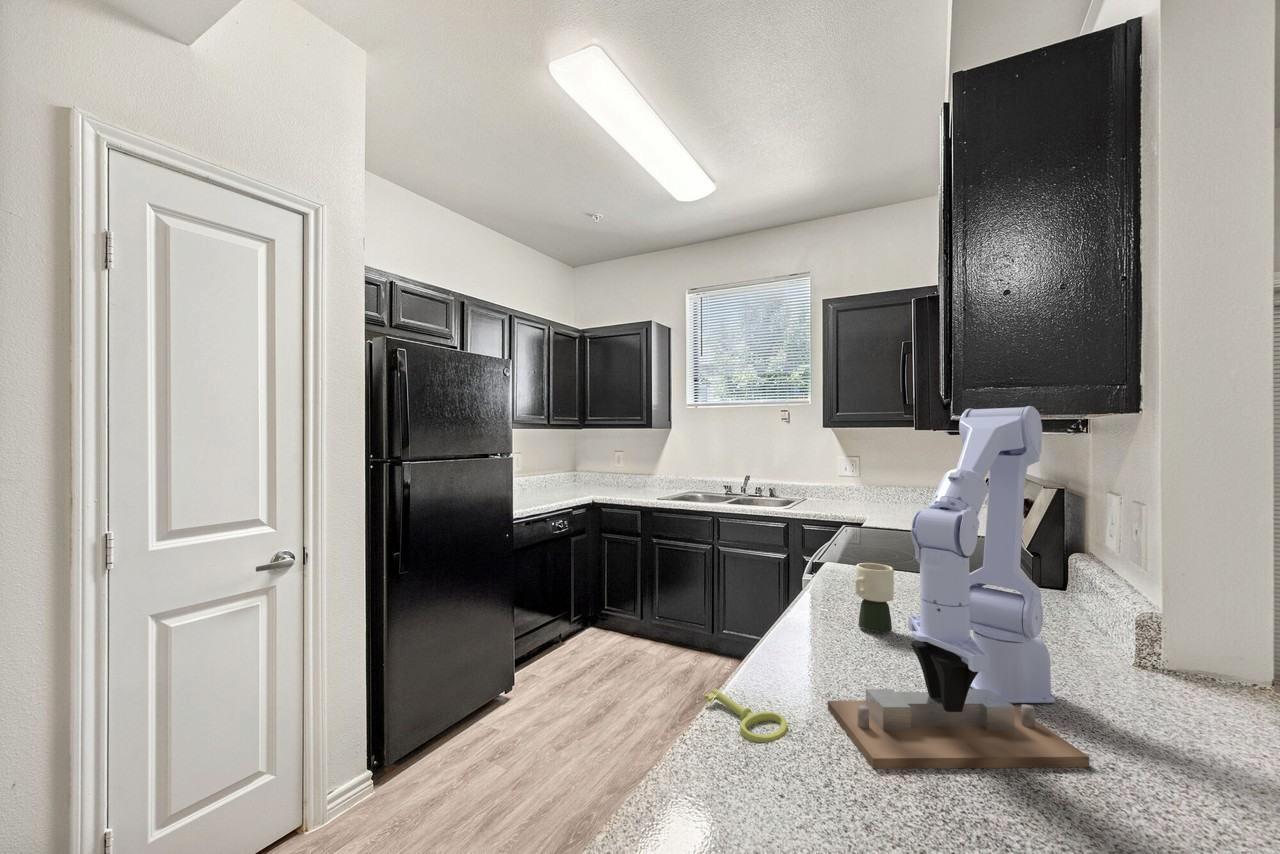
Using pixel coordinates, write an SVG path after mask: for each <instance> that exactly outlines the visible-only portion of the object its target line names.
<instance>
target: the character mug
mask: <svg viewBox="0 0 1280 854" xmlns="http://www.w3.org/2000/svg"><path fill="white" fill-rule="evenodd" d="M855 570H856V571H855V582H854V583H855V584H854V588H855V589H854V591H855V594H857V596H858V597H859V598H861V599H862V601H861V603H860V609H859V614H858V627H859V628H862V629H865V630H868V631H869V632H870V631H871V632H877V633H884V634H885V633H890V632H892V630H893V625H892V624H893V623H892V618H891V611H890V605H889V604H888V602H891V601H893V600H894V595H895V592H894V591H895V585H894V584H895V583H894V580H895V579H894V578H895V577H894V567H892V566H890V565H886V564H881V563H873V562H863V563H860V562H859V563H857V564H856V567H855Z"/></svg>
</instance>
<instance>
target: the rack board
mask: <svg viewBox="0 0 1280 854" xmlns="http://www.w3.org/2000/svg"><path fill="white" fill-rule="evenodd" d="M1005 701H1006V700H1005ZM1007 702H1008V701H1007ZM1008 703H1009V702H1008ZM1009 704H1011V705H1012V706H1014V720H1015V730H986V729H985V728H984V727H911V731H883V730H882V729H881V728H880V726H879V725H878V724H877V723H876V722H875V721H874V720H873V718H872V717H871V716H870V715H869V708H868V707H866V699H865V700H863V699H860V700H827V710H828V711H829V713H830V714H831V715H832V717H833V718H834V720H836V722H837V723H838V724H839V726H840V727H841V728H842V730H843V731H844V733H846V735H847V737H848V738H849V739H850V740H851V742H852V743H853V744H854V745H855V747H856V748H857V750H858V752H860V753H861V755H862V756H863V758H864V759H865V760H866V761H867V763H868V764H869V765H870V767H871V768H872V769H875V770H880V769H881V770H883V769H884V770H888V769H889V770H893V769H896V770H897V769H899V770H900V769H990V768H991V769H993V768H995V769H996V768H997V769H998V768H999V769H1002V768H1003V769H1005V768H1007V769H1008V768H1013V769H1014V768H1015V769H1017V768H1021V769H1022V768H1089V767H1090V756H1089V755H1087V754H1086V753H1085V752H1083V751H1081V750H1080V749H1078V748H1077V747H1076V746H1074V745H1073V744H1071V743H1070V742H1068V741H1067V740H1066V739H1064V738H1063V737H1061V736H1060V735H1058V734H1057V733H1055V732H1053V731H1052V730H1051V729H1049V728H1048V727H1046V726H1045V725H1044V724H1041V723H1040V722H1038V720H1036V719H1035V715H1036V714H1035V707H1034V706H1032V705H1030V704H1027V703H1021V705H1020V706H1021V707H1020V708H1018V707H1017V706H1015V705H1014V704H1013V703H1009Z"/></svg>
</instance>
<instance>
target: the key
mask: <svg viewBox="0 0 1280 854" xmlns="http://www.w3.org/2000/svg"><path fill="white" fill-rule="evenodd" d="M719 691H720V690H719V689H717V688H713V689H712V691H711V692H710V693H706V694H705V695H704V699H706V700H707V701H708V702H712V701H711V700H712V699H713V698H714V696H715V695H716V694H717V693H718V692H719ZM715 700H717V701H719V703H721V704H722V705H724V706H725V707H726V708H728V709H729V710H730V711H732V712H733V713H734V714H736V715H738V717H739V718H740V720H741V723H740V726H739V734H740V736H741V737H743V738H744V739H746V740H748V741H751V742H755V743H765V742H766V743H767V742H772V741H774V740H775V741H776V740H777V739H780V738H782V737H783V736H785V735H786V733H787V731H788V729H789V728H788V727H789V726H788V722H787V720H786V718H785V717H784V716H783V715H782V714H780V713H778V712H774V711H769V710H768V711H765V710H764V711H757V712H754V713H752V710H751V708H749V707H743V706H742V705H740V704H739V703H737V702H736V701H735V700H733V699H732V698H731V697H728V696H727V695H726V694H724V693H723V692H721V691H720V692H719V693H718V694H717V695H716V697H715V698H714V700H713V701H715ZM766 721H767V722H768V721H773V722H776V723H777V724H779V725H780V726H779V728H778V729H777V730H774V731H772V732H770V733H763V734H762V733H754V732H751V731H750V730H748V729H747V728H749V727H751V726H753V725H754V724H757V723H761V722H766Z"/></svg>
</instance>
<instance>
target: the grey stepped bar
mask: <svg viewBox="0 0 1280 854" xmlns="http://www.w3.org/2000/svg"><path fill="white" fill-rule="evenodd" d="M865 700H866V707H868V708H869V715H870V716H871V717H872V718H873V720H874V721H875V722H876V723H877V724H878V725H879V726H880V728H881V729H882V730H883V731H911V727H984V728H985V729H986V730H1015V720H1014V706H1015V705H1014V706H1012V705H1013V704H1012V703H1011V704H1012V705H1011V704H1009V703H1008V702H1007V701H1005V700H1004V699H1002V698H1001V697H999V696H998V695H996V694H995V693H994V692H992V691H991V690H989V689H973V688H969V691H968V694H967V697H966V700H965V704H964V707H963V710H962V712H947V711H945V710H944V708H943V705H942V699H941V698H931V697H930V696H929V694H928V691H894V689H892V688H865Z"/></svg>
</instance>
